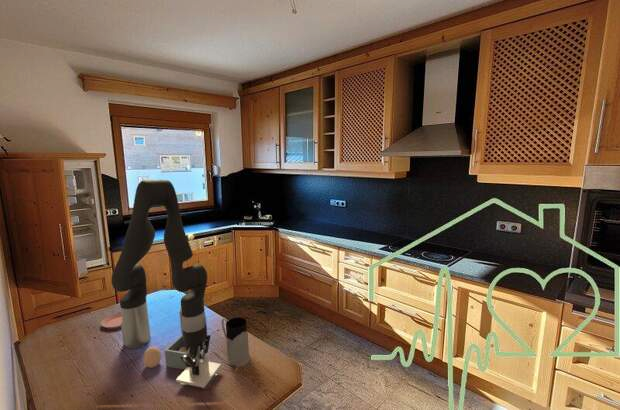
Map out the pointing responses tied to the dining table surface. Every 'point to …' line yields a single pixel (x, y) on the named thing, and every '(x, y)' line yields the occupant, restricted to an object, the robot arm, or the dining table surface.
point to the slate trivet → (206, 385)
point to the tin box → (175, 354)
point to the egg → (152, 357)
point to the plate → (112, 321)
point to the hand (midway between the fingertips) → (198, 371)
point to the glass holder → (236, 341)
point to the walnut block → (183, 349)
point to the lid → (204, 376)
